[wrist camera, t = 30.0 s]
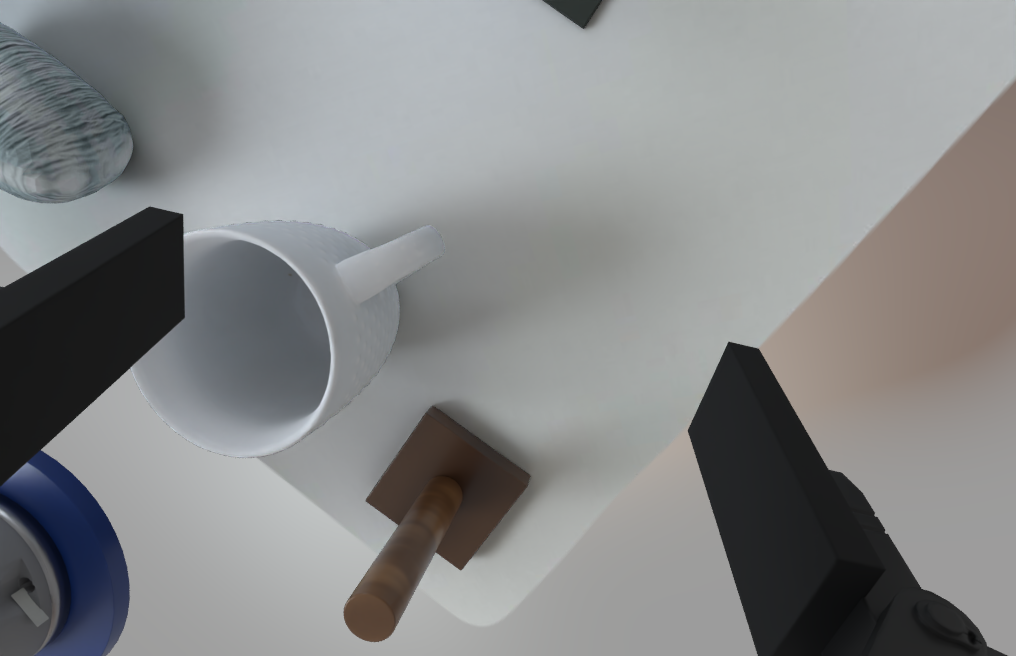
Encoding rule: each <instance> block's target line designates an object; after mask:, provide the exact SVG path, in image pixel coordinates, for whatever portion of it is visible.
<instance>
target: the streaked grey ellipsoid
mask: <svg viewBox="0 0 1016 656" xmlns="http://www.w3.org/2000/svg"><path fill="white" fill-rule="evenodd" d="M132 151H133V141H132V136H131V132H130V128H129V125H128V123H127V122H126V120H125V118H124V117H123V115H122V114H121V113H119V112H118V111H117V110H115V109H114V108H113V107H112V106H111V105H110V103H109V102H108V101H107V100H106V99H105V98H104V97H103V96H102V95H101V94H100V93H99V92H98V91H96V90H95V89H94V88H92V87H91V86H90V85H89V84H87V83H86V82H85V81H84V80H83V79H81V78H80V77H79V76H78V75H77V74H75V73H74V72H73V71H72V70H70V69H69V68H68V67H66V66H65V65H64V64H63V63H61V62H60V61H59V60H57V59H56V58H54V57H53V56H51V55H50V54H49V53H47V52H46V51H44V50H43V49H41V48H40V47H39V46H37V45H36V44H34V43H33V42H31V41H30V40H28V39H26V38H25V37H23V36H22V35H20V34H19V33H18V32H16V31H15V30H13V29H12V28H10V27H8V26H6V25H4V24H2V23H1V22H0V189H1V190H4V191H6V192H8V193H10V194H12V195H14V196H16V197H18V198H22V199H25V200H29V201H33V202H39V203H64V202H69V201H72V200H75V199H78V198H81V197H84V196H87V195H90V194H92V193H95V192H97V191H98V190H100V189H101V188H103V187H104V186H106V185H107V184H109V183H111V182H113V181H114V180H115V179H116V178H117V177H118V176H120V175H121V173H122V172H123V171H124V169H125V168H126V166H127V164H128V162H129V160H130V158H131V155H132Z"/></svg>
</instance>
